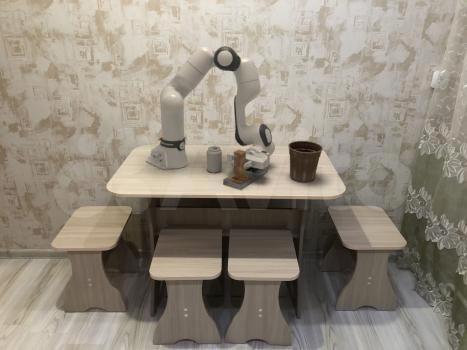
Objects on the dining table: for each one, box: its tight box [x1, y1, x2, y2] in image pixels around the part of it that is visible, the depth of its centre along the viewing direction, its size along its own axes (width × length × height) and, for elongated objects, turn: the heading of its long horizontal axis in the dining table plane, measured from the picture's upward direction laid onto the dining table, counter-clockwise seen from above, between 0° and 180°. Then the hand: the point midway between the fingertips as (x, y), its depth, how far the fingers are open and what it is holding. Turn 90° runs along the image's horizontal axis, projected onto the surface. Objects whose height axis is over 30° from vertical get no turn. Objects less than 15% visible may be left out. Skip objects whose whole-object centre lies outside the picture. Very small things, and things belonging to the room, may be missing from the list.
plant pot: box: [287, 140, 324, 183], centre depth 189 cm, size 16×16×16 cm
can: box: [206, 145, 223, 174], centre depth 196 cm, size 8×8×12 cm
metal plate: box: [222, 166, 268, 191], centre depth 190 cm, size 10×24×3 cm, turn 147°
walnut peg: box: [232, 149, 246, 181], centre depth 182 cm, size 4×4×14 cm
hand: (238, 164), depth 181 cm, fingers closed on walnut peg, 4 cm apart
